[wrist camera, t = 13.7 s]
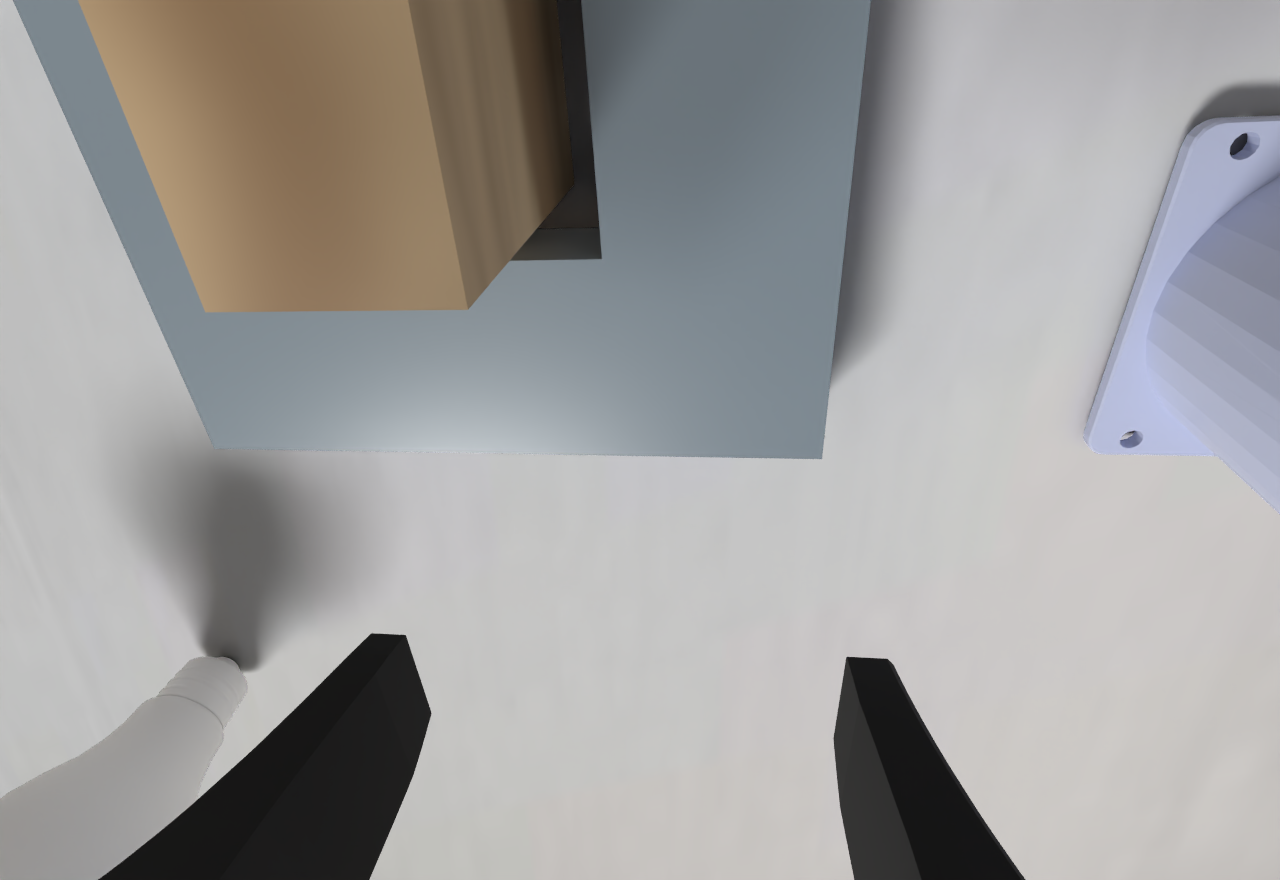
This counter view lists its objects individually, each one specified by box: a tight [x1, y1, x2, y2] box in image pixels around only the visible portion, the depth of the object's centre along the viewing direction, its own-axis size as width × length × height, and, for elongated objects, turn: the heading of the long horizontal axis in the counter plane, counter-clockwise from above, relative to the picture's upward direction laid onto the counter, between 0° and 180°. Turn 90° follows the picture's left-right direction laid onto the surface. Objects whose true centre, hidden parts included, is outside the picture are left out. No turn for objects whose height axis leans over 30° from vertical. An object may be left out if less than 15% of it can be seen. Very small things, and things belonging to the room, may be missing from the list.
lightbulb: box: [0, 656, 248, 880], centre depth 23 cm, size 6×6×11 cm
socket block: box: [13, 0, 871, 459], centre depth 14 cm, size 16×16×2 cm
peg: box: [78, 0, 574, 312], centre depth 12 cm, size 4×4×8 cm
